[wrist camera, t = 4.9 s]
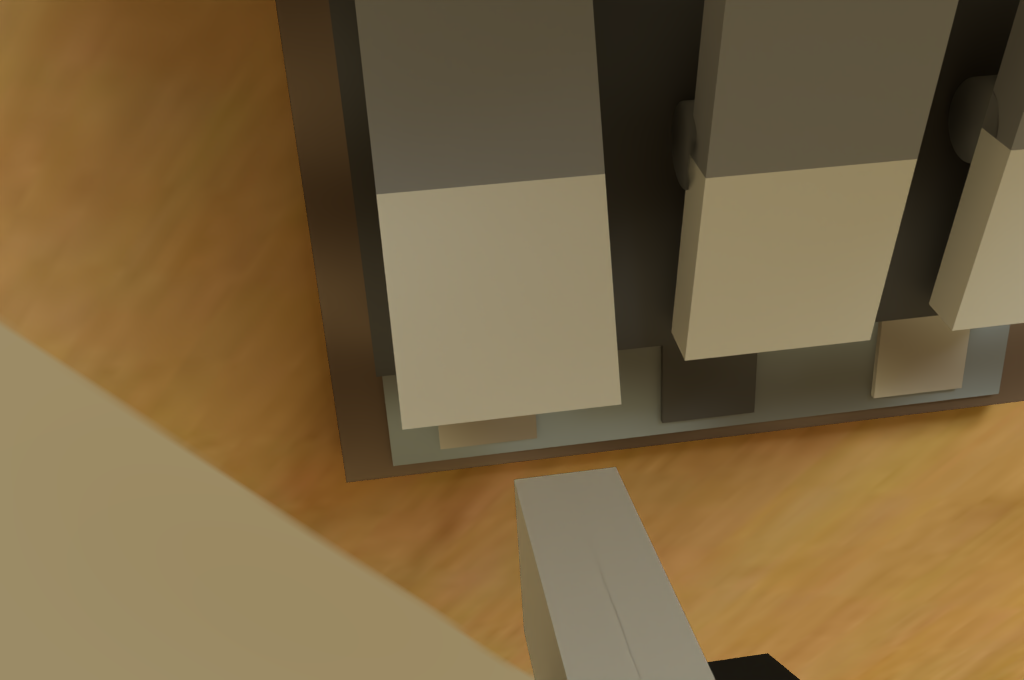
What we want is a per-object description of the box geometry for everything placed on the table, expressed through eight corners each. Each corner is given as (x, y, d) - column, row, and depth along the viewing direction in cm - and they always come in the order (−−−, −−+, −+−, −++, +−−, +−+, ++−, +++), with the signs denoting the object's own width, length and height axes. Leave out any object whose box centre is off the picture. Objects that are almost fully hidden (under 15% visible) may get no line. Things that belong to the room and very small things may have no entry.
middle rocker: (691, -102, 19) (733, -69, 17) (913, -115, 20) (980, -85, 18) (657, 301, 25) (685, 360, 23) (827, 283, 26) (870, 340, 24)
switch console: (269, -78, 24) (244, -82, 20) (1092, -127, 27) (1251, -141, 22) (347, 458, 31) (343, 554, 26) (1006, 380, 33) (1115, 455, 28)
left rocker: (353, -31, 21) (347, -62, 19) (564, -45, 22) (587, -77, 19) (401, 403, 23) (402, 429, 20) (597, 380, 23) (621, 404, 21)
